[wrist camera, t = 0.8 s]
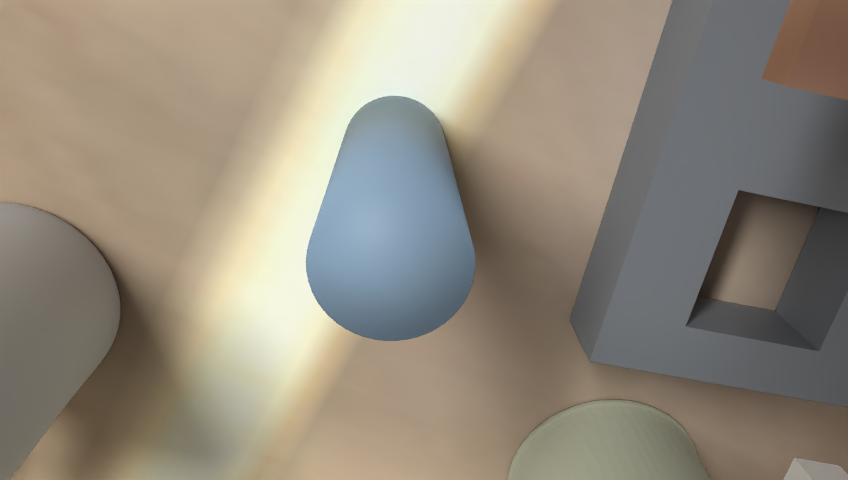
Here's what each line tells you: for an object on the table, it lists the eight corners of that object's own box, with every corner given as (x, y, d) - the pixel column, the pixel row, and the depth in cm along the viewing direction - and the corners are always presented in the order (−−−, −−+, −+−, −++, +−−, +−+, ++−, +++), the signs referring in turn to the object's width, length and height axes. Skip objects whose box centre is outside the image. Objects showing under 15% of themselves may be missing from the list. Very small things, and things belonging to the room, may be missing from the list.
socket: (695, -70, 25) (739, -76, 22) (993, 3, 27) (1076, 9, 23) (569, 320, 31) (589, 361, 28) (821, 366, 32) (869, 411, 29)
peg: (353, 86, 27) (320, 169, 16) (455, 107, 27) (493, 203, 16) (335, 184, 28) (294, 325, 17) (433, 203, 29) (454, 353, 18)
